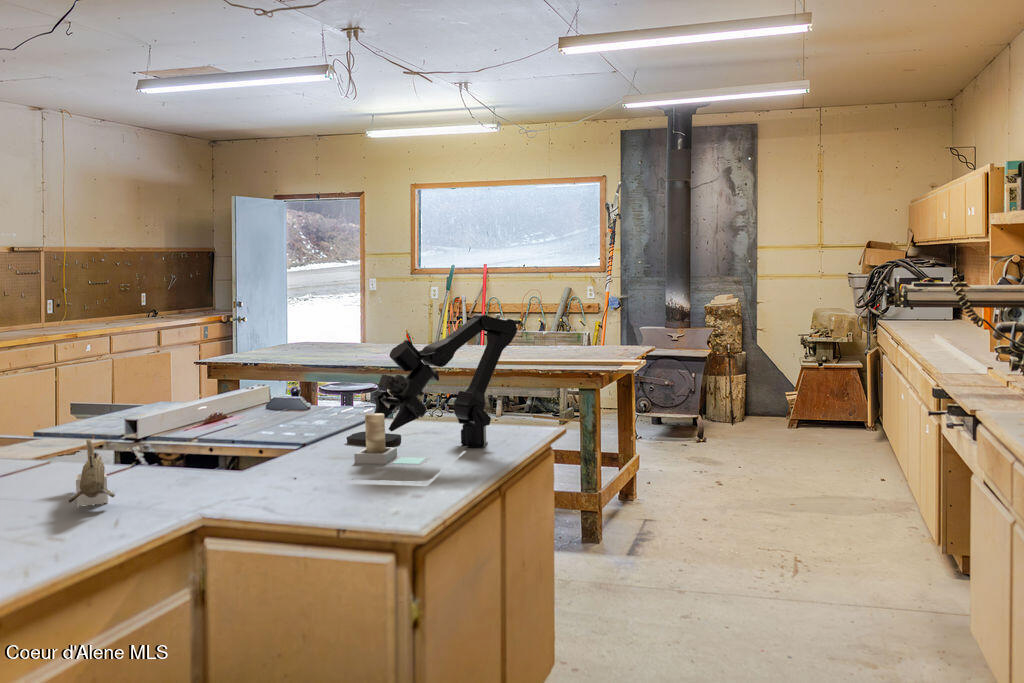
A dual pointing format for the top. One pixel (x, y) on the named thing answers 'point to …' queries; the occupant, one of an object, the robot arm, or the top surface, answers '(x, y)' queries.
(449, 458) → the top surface
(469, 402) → the robot arm
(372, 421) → the maple post
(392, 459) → the jig board
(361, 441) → the black sponge
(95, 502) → the wood carving
